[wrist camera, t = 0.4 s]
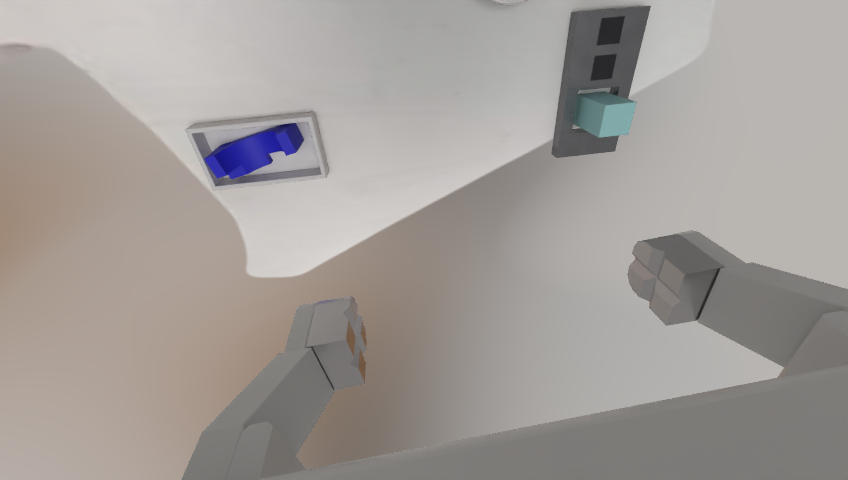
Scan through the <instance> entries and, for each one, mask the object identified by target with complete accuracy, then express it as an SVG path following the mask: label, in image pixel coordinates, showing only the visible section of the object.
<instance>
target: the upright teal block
mask: <svg viewBox="0 0 848 480" xmlns="http://www.w3.org/2000/svg"><path fill="white" fill-rule="evenodd" d="M635 106H636V102H635V101H632V100H629V99H626V98H623V97H619V96H616V95H613V94H610V93H607V92H595V93H586V94H578V96H577V102H576V108H575V113H574V119H573V124H575V125H576V126H578V127H580V128H582V129H584V130H586V131H587V132H589V133H591V134H593V135H595V136H597V137H599V138H600V137H609V136H618V135H627V134H628V133H629V129H630V126H631V122H632V118H633V114H634V110H635Z"/></svg>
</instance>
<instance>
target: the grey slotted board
mask: <svg viewBox="0 0 848 480" xmlns="http://www.w3.org/2000/svg"><path fill="white" fill-rule="evenodd" d="M650 7H651V6H638V7H627V8H616V9H605V10H594V11H583V12H572V13H571V19H570V26H569V33H568V40H567V48H566V55H565V62H564V69H563V76H562V83H561V90H560V97H559V105H558V112H557V119H556V126H555V133H554V140H553V147H552V155H554V156H555V157H556V158H559V157H568V156H577V155H586V154H594V153H604V152H612V151H615V148H616V144H617V141H618V137H619V135H618V136H609V137H600V138H599V137H597V136H595V135H593V134H591V133H589V132H587V131H586V130H584V129H582V128H580V129H572V125H573V119H574V113H575V108H576V102H577V96H578V90H588V89H598V88H607V87H611V91H610V94H613V95H616V96H619V97H623V98H626V99H628V96H629V92H630V88H631V84H632V80H633V76H634V72H635V68H636V64H637V60H638V56H639V51H640V47H641V43H642V39H643V35H644V31H645V27H646V23H647V19H648V15H649V11H650Z"/></svg>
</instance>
